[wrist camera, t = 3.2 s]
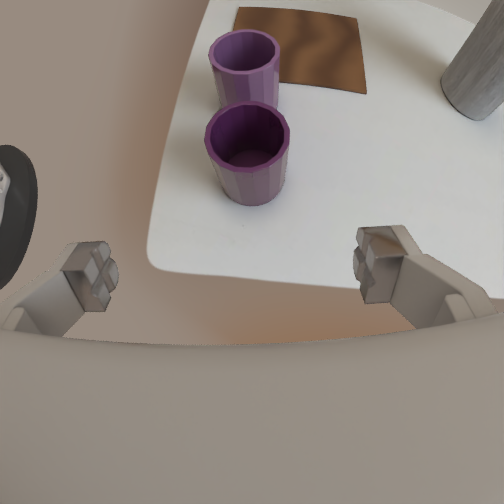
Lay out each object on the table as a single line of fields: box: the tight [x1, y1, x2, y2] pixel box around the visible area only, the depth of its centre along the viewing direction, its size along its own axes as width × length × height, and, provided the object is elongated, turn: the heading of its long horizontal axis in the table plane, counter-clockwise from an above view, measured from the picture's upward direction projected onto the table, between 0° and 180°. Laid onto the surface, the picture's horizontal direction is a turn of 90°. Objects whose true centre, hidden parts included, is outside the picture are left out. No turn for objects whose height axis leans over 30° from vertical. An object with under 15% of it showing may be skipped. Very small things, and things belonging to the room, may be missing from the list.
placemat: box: [233, 7, 367, 94], centre depth 38 cm, size 20×18×1 cm
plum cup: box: [204, 101, 290, 206], centre depth 30 cm, size 7×7×10 cm
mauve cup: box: [208, 29, 280, 109], centre depth 32 cm, size 7×7×10 cm
